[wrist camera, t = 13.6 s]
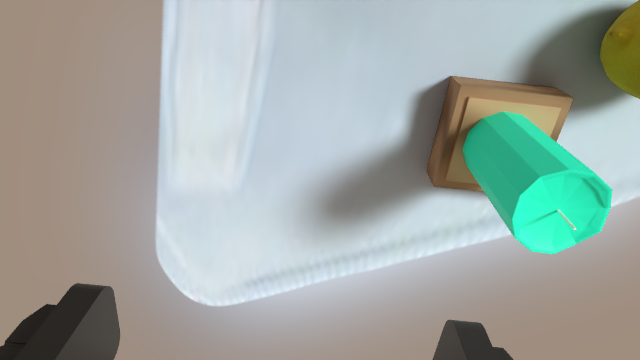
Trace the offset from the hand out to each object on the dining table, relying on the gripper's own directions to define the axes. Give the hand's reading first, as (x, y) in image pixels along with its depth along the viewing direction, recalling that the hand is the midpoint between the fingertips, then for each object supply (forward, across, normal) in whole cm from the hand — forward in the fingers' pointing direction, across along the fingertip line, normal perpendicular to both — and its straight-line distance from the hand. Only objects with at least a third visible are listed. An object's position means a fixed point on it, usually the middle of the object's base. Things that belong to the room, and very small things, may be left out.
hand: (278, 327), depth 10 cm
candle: (+25, -16, +4) cm, 30 cm away
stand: (+28, -16, +4) cm, 32 cm away
